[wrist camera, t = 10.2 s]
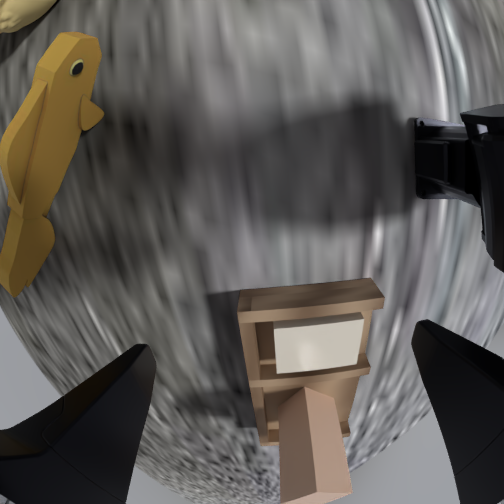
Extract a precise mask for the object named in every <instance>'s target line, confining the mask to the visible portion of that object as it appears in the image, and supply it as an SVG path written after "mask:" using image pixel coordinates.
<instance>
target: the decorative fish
mask: <svg viewBox="0 0 504 504" xmlns="http://www.w3.org/2000/svg"><path fill="white" fill-rule="evenodd" d="M101 57H102V54H101V50H100V47H99V43H98V39H97V38H95V37H92V36H89V35H86V34H83V33H79V32H63V33H60V34H59V35H58V36H57V38H56V39H55V40H54V41H53V43H52V44H51V45H50V47H49V48H48V50H47V51H46V52H45V54H44V55H43V57H42V58H41V60H40V61H39V62H38V64H37V66H36V70H35V74H34V78H33V82H32V87H31V90H30V92H29V93H28V95H27V97H26V99H25V100H24V102H23V104H22V106H21V107H20V109H19V111H18V112H17V114H16V115H15V117H14V118H13V120H12V121H11V123H10V124H9V126H8V128H7V129H6V131H5V133H4V135H3V137H2V140H1V144H0V166H1V170H2V174H3V177H4V180H5V182H6V185H7V187H8V190H9V194H8V202H7V205H8V206H9V207H11V211H10V215H9V219H8V224H7V228H6V233H5V238H4V243H3V247H2V251H1V254H0V283H1V285H2V286H3V287H4V288H5V289H6V290H7V291H8V292H9V293H10V294H11V295H12V296H13V297H16V296H18V295H19V293H20V292H21V291H22V290H23V288H24V286H25V285H26V286H27V287H29V286H30V284H31V283H32V281H33V279H34V278H35V276H36V275H37V273H38V271H39V270H40V268H41V266H42V265H43V263H44V261H45V260H46V258H47V256H48V255H49V253H50V251H51V249H52V248H53V245H54V242H55V235H54V229H53V226H52V224H51V222H50V221H49V220H48V219H47V218H46V217H47V214H48V212H49V209H50V206H51V204H52V201H53V199H54V196H55V195H56V193H57V192H58V190H59V188H60V185H61V183H62V180H63V178H64V175H65V173H66V170H67V168H68V166H69V164H70V161H71V159H72V157H73V155H74V153H75V150H76V148H77V144H78V141H79V137H80V134H81V130H88V129H90V128H92V127H93V126H94V125H96V124H97V123H98V122H99V121H100V120H101V119H102V118H103V116H104V112H103V111H102V110H101V109H100V108H99V107H98V106H96V105H95V104H94V103H92V102H91V101H90V98H91V94H92V90H93V86H94V82H95V78H96V74H97V70H98V67H99V63H100V60H101Z"/></svg>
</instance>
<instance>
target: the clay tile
mask: <svg viewBox="0 0 504 504" xmlns="http://www.w3.org/2000/svg"><path fill="white" fill-rule="evenodd" d="M363 324H364V318H363V316H362V314H361V312H355V313H347V314H339V315H331V316H322V317H313V318H303V319H292V320H280V321H273V325H274V340H275V353H276V368H277V374H279V373H291V372H302V371H311V370H320V369H327V368H335V367H342V366H348V365H354V364H357V359H358V354H359V348H360V343H361V337H362V331H363Z"/></svg>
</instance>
